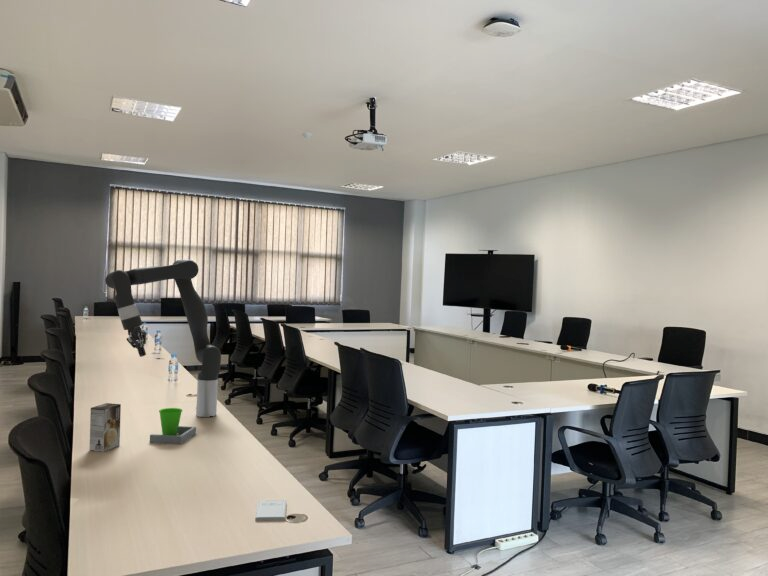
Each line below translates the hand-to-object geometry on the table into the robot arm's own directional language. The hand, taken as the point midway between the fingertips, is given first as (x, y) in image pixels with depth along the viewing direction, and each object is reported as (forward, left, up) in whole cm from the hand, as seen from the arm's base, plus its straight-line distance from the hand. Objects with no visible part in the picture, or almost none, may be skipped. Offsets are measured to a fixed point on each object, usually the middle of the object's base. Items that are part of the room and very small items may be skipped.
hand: (143, 355), depth 244 cm
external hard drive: (+74, +74, -32) cm, 110 cm away
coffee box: (+27, -1, -32) cm, 41 cm away
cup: (+8, +16, -32) cm, 36 cm away
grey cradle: (+9, +17, -31) cm, 37 cm away
